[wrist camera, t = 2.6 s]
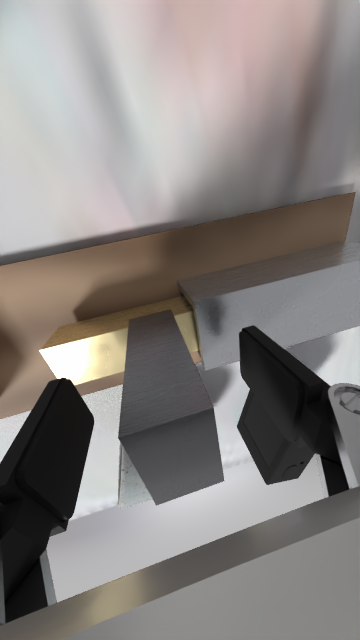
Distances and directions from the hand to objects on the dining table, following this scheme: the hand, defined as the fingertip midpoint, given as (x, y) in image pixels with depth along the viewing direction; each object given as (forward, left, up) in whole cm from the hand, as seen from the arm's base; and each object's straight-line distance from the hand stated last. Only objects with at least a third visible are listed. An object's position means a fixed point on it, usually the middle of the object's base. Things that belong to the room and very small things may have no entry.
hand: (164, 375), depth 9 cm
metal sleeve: (0, +9, -7) cm, 12 cm away
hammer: (0, +4, -6) cm, 8 cm away
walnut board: (0, -1, -8) cm, 8 cm away
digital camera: (+16, +11, -8) cm, 21 cm away
